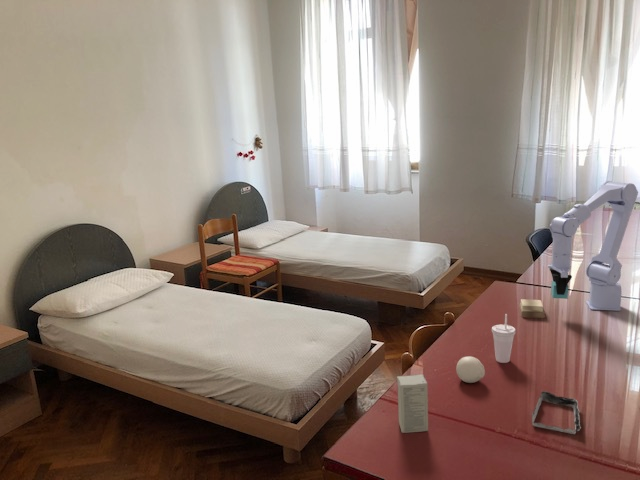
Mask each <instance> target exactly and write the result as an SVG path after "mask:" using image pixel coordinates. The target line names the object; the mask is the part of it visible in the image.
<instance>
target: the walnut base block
mask: <svg viewBox="0 0 640 480" xmlns="http://www.w3.org/2000/svg"><path fill="white" fill-rule="evenodd" d="M518 307H519V308H518V309H519V314H520V317H521V318H530V319H531V318H533V319H535V318H536V319H545V318H546V312H545V309H544V308H543V312H531V311H522V308H521V303H519V306H518Z"/></svg>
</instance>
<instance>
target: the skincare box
mask: <svg viewBox="0 0 640 480" xmlns="http://www.w3.org/2000/svg"><path fill="white" fill-rule="evenodd" d="M396 379H397V381H396V383H397V384H396V385H397V405H398V407H397V408H398V412H397V413H398V414H397V415H398V424H399V427H400V428H399V429H400V431H401V433H402V434H405V433H419V432H428V431H429V401H428V400H429V399H428V396H429V395H428V381H427V380H426V377H425V376H424V374H423V373H422V374H421V373H420V374H411V375H410V374H409V375H408V374H407V375H398V376H396Z"/></svg>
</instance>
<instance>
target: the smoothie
mask: <svg viewBox="0 0 640 480" xmlns="http://www.w3.org/2000/svg"><path fill="white" fill-rule="evenodd" d="M491 332H492V337H493V346H494V353H495V354H494V355H495V361H496V362H498V363H502V364H507V363H509V362H510V360H511V354H512V347H513V342H514V336H515V335H516V328H515V327H514V326H512V325H510V324H508V314H507V313H505V314H504V324H496V325H493V326H492V327H491Z"/></svg>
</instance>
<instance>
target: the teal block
mask: <svg viewBox="0 0 640 480" xmlns="http://www.w3.org/2000/svg"><path fill="white" fill-rule="evenodd" d="M550 286H551V287H550V295H551V297H552V299H565V300H566V299H567V300H568V299H569V284H568V285H567V287H566V291H565V294H564V295H558V294H557V291H556V283H555V281H553V280H552V281H551V285H550Z"/></svg>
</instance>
